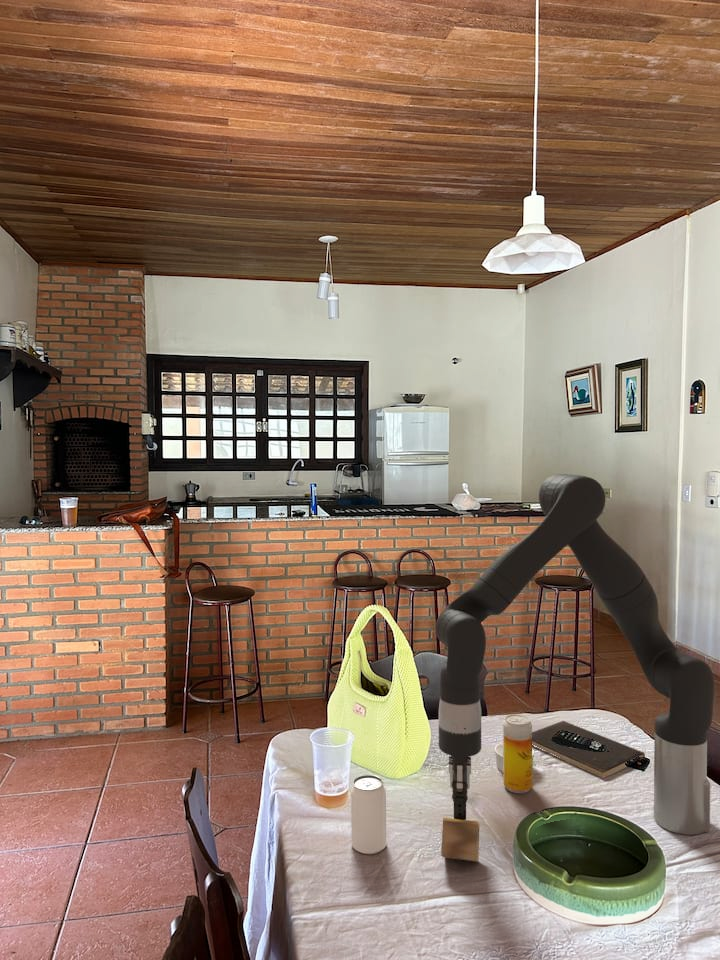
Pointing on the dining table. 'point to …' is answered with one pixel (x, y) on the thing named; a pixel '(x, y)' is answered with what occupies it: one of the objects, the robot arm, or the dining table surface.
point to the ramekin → (500, 756)
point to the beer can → (517, 753)
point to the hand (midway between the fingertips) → (459, 817)
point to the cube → (460, 839)
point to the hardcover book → (585, 759)
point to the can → (368, 814)
